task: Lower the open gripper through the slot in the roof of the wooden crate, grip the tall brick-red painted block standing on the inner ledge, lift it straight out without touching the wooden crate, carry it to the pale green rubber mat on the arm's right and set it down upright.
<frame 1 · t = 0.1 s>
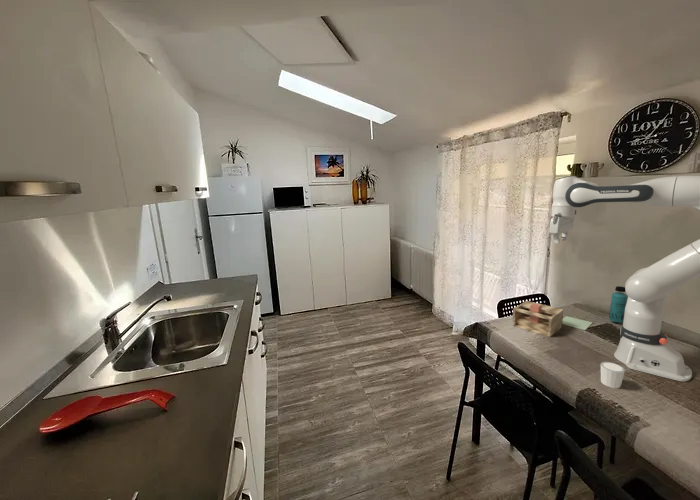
hand: (560, 241, 140), 48 cm above the table, fingers open, 8 cm apart
white cup: (610, 383, 112), on the table
wooden crate: (536, 326, 160), on the table
zone pad: (575, 323, 161), on the table
beverage bottle: (616, 323, 159), on the table
block: (534, 321, 157), point 4 cm above the table, touching wooden crate
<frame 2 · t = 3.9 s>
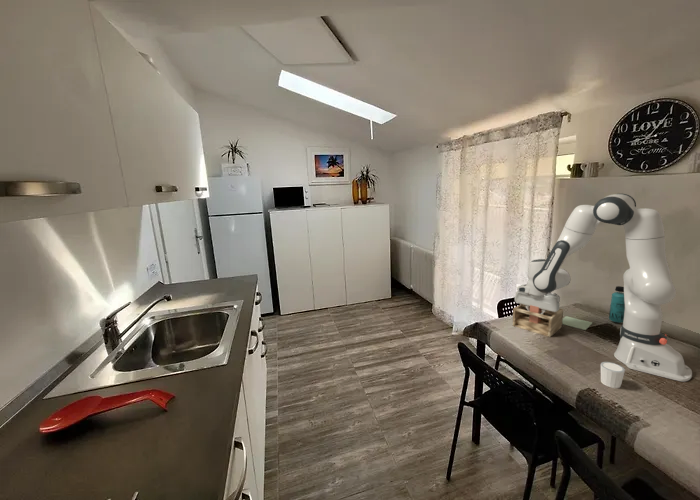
hand: (535, 314, 156), 8 cm above the table, fingers closed on block, 4 cm apart
block: (534, 321, 157), point 4 cm above the table, touching gripper, wooden crate
everything else where it was.
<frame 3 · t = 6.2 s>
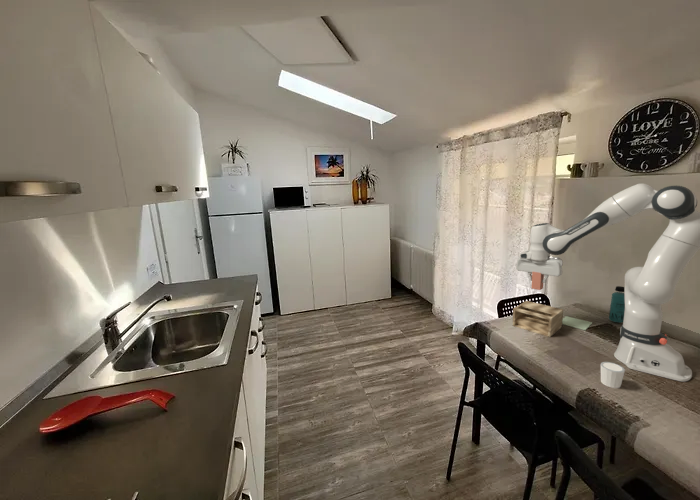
hand: (537, 281, 153), 26 cm above the table, fingers closed on block, 4 cm apart
block: (537, 288, 153), point 22 cm above the table, touching gripper
everything else where it was.
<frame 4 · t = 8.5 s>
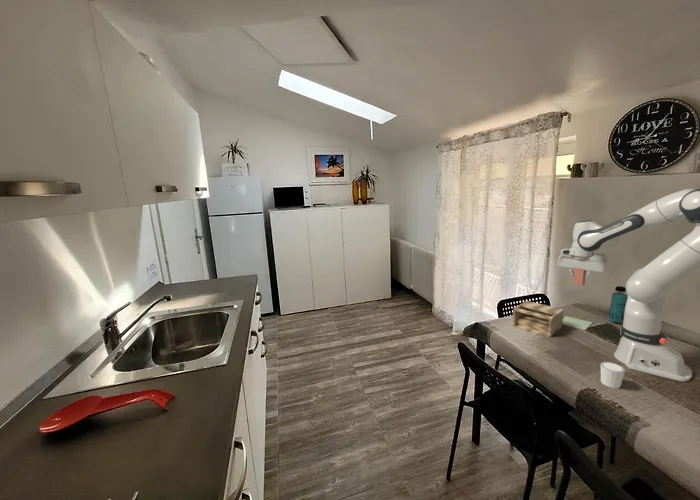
hand: (579, 277, 156), 26 cm above the table, fingers closed on block, 4 cm apart
block: (578, 284, 157), point 22 cm above the table, touching gripper
everything else where it was.
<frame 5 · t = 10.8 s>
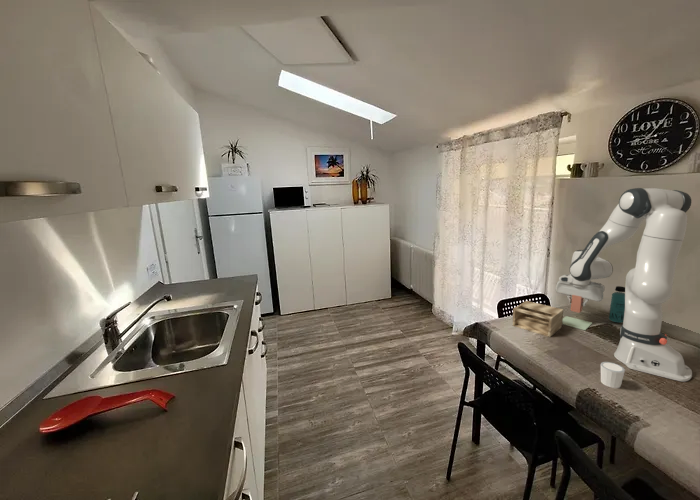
hand: (577, 304, 159), 11 cm above the table, fingers closed on block, 4 cm apart
block: (576, 310, 160), point 7 cm above the table, touching gripper
everything else where it was.
when the fingers open (5 cm above the table, at t = 12.8 s): block drops 1 cm, resting on zone pad.
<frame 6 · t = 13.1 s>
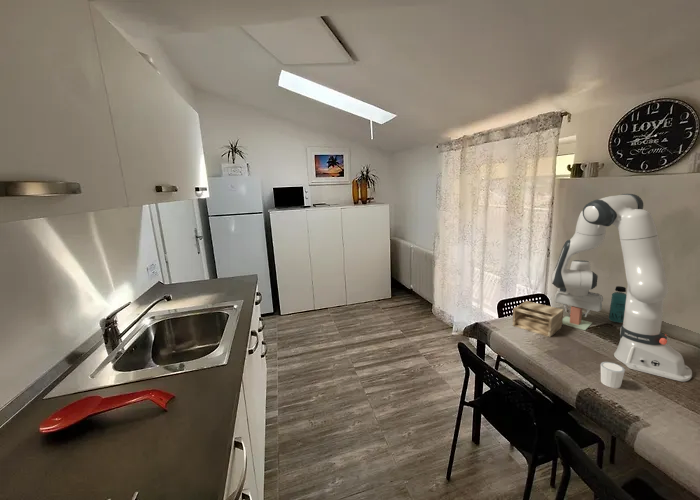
hand: (576, 314, 160), 5 cm above the table, fingers open, 6 cm apart
block: (575, 322, 161), resting on zone pad
everything else where it was.
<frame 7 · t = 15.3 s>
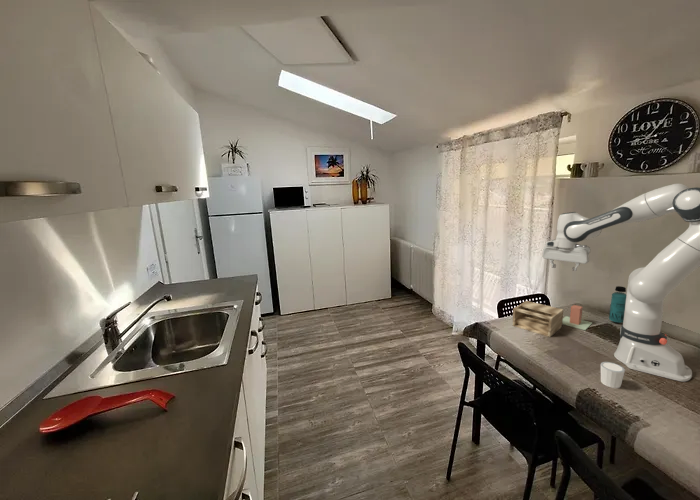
hand: (563, 269, 157), 30 cm above the table, fingers open, 8 cm apart
nothing on the table moved.
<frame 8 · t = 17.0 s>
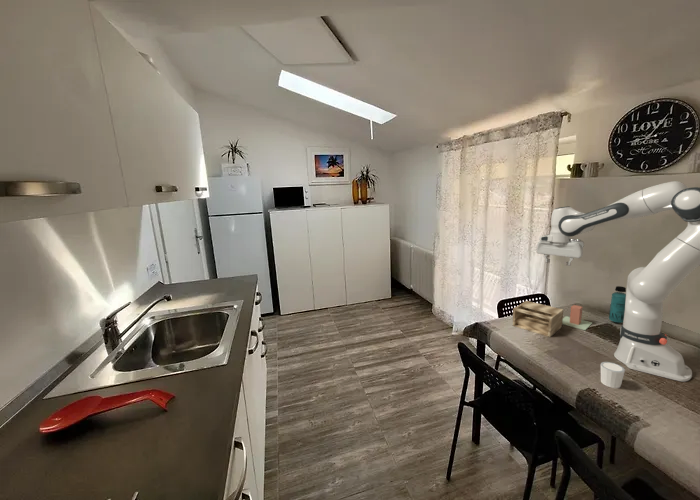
hand: (557, 263, 157), 33 cm above the table, fingers open, 8 cm apart
nothing on the table moved.
at the end: block inside the target area on the zone pad (0.1 cm from its centre), point 0.4 cm above the zone pad's base; block tilted 0°; block touching zone pad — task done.
